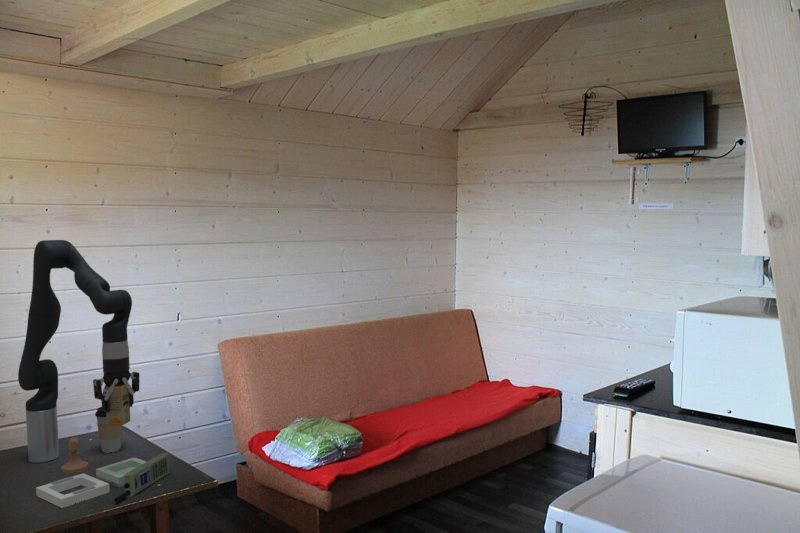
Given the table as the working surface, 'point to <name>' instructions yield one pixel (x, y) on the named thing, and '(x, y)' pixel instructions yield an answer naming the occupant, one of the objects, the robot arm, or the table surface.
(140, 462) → the tray
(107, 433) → the coffee cup
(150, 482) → the handheld radio
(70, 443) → the door knob
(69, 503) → the holder
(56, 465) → the table surface
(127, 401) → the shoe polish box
